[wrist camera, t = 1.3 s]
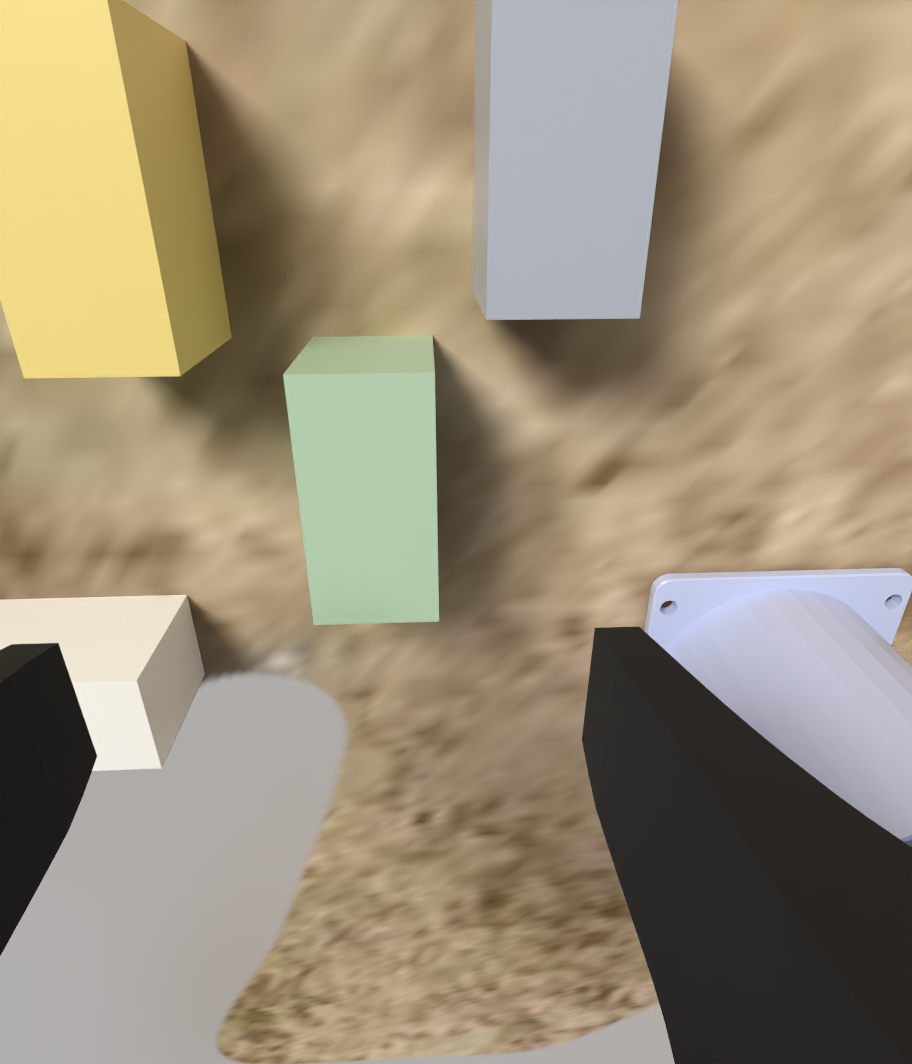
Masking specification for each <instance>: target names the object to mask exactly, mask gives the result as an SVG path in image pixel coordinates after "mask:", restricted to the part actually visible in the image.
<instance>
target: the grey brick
mask: <svg viewBox="0 0 912 1064" xmlns="http://www.w3.org/2000/svg"><path fill="white" fill-rule="evenodd" d="M677 7H678V0H475V64H474V174H473V285H472V293H473V295H474V297H475V299H476V301H477V303H478V305H479V307H480V309H481V311H482V313H483V315H484V317H485V319H486V320H535V319H637V318H640V312H641V304H642V296H643V288H644V279H645V271H646V263H647V255H648V246H649V238H650V230H651V222H652V213H653V205H654V197H655V188H656V180H657V172H658V164H659V155H660V147H661V139H662V131H663V122H664V114H665V106H666V98H667V89H668V81H669V73H670V65H671V56H672V48H673V40H674V31H675V23H676V15H677Z"/></svg>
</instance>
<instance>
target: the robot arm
mask: <svg viewBox="0 0 912 1064" xmlns="http://www.w3.org/2000/svg"><path fill="white" fill-rule="evenodd" d="M911 592H912V576H911V575H909V574H908V573H907V572H906V571H904V570H903V569H900V568H872V569H832V570H793V571H753V572H714V573H674V574H665V575H662V576H660V577H659V578H657V579H656V580H655V581H654V582H653V585H652V587H651V592H650V599H649V605H648V611H647V618H646V624H645V630H644V631H643V630H642V629H641V628H640V627H613V628H595V632H594V641H593V649H592V658H591V667H590V675H589V684H588V692H587V701H586V710H585V718H584V727H583V736H582V742H583V747H584V752H585V757H586V762H587V768H588V773H589V778H590V782H591V787H592V792H593V796H594V801H595V806H596V810H597V813H598V816H599V819H600V822H601V826H602V829H603V832H604V835H605V838H606V841H607V844H608V847H609V850H610V853H611V856H612V859H613V862H614V866H615V869H616V872H617V875H618V878H619V881H620V884H621V887H622V890H623V893H624V896H625V899H626V902H627V905H628V908H629V911H630V914H631V917H632V920H633V923H634V926H635V929H636V932H637V935H638V938H639V941H640V944H641V947H642V950H643V953H644V956H645V959H646V962H647V965H648V968H649V971H650V974H651V977H652V980H653V983H654V987H655V990H656V993H657V997H658V1000H659V1004H660V1007H661V1010H662V1014H663V1017H664V1021H665V1024H666V1028H667V1032H668V1037H669V1040H670V1045H671V1049H672V1053H673V1057H674V1062H675V1064H912V665H911V664H910V663H909V662H908V661H907V660H906V659H904V658H903V657H902V656H901V655H900V654H899V653H898V652H897V651H896V650H895V649H894V648H893V647H892V643H893V640H894V638H895V635H896V632H897V630H898V627H899V624H900V621H901V619H902V616H903V613H904V611H905V608H906V605H907V603H908V600H909V597H910V595H911ZM891 595H893V596H892V598H891V599H889V600H888V601H886V600H887V598H889V597H890V596H891ZM666 601H673V602H672V604H671V605H670V606H668V607H665V608H661V605H662V604H663V603H664V602H666ZM96 758H97V754H96V751H95V748H94V745H93V743H92V740H91V737H90V734H89V731H88V728H87V725H86V722H85V719H84V716H83V713H82V710H81V707H80V705H79V702H78V699H77V696H76V693H75V690H74V687H73V684H72V681H71V678H70V675H69V672H68V670H67V667H66V664H65V661H64V658H63V655H62V652H61V649H60V646H59V643H38V644H11V645H9V646H7V647H5V648H3V649H1V650H0V955H1V954H2V952H3V950H4V948H5V946H6V944H7V943H8V941H9V939H10V937H11V935H12V934H13V932H14V930H15V928H16V926H17V925H18V923H19V921H20V919H21V917H22V916H23V914H24V912H25V910H26V908H27V906H28V905H29V903H30V901H31V899H32V897H33V896H34V894H35V892H36V890H37V888H38V886H39V885H40V883H41V881H42V879H43V877H44V875H45V873H46V871H47V870H48V868H49V866H50V864H51V862H52V860H53V859H54V857H55V855H56V853H57V851H58V849H59V847H60V845H61V843H62V841H63V840H64V838H65V836H66V834H67V832H68V830H69V828H70V825H71V823H72V821H73V818H74V816H75V813H76V811H77V809H78V806H79V804H80V801H81V799H82V796H83V794H84V791H85V788H86V786H87V783H88V780H89V777H90V775H91V772H92V769H93V767H94V764H95V761H96Z"/></svg>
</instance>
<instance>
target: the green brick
mask: <svg viewBox="0 0 912 1064" xmlns="http://www.w3.org/2000/svg"><path fill="white" fill-rule="evenodd" d="M283 378H284V386H285V394H286V403H287V411H288V419H289V427H290V435H291V443H292V451H293V460H294V468H295V476H296V484H297V492H298V500H299V508H300V517H301V525H302V533H303V541H304V549H305V557H306V566H307V574H308V582H309V590H310V598H311V606H312V614H313V623H314V625H331V624H368V623H404V622H439V586H438V527H437V468H436V409H435V367H434V351H433V335H428V336H337V337H312V338H311V339H310V341H309V342H308V343H307V345H306V346H305V347H304V348H303V350H302V351H301V352H300V354H299V355H298V356H297V357H296V359H295V360H294V361H293V363H292V364H291V365H290V366H289V368H288V369H287V370H286V371H285V373H284V374H283Z"/></svg>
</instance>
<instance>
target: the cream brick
mask: <svg viewBox="0 0 912 1064" xmlns="http://www.w3.org/2000/svg"><path fill="white" fill-rule="evenodd" d="M38 643H59V646H60V649H61V652H62V655H63V658H64V661H65V664H66V667H67V670H68V672H69V675H70V678H71V681H72V684H73V687H74V690H75V693H76V696H77V699H78V702H79V705H80V707H81V710H82V713H83V716H84V719H85V722H86V725H87V728H88V731H89V734H90V737H91V740H92V743H93V745H94V748H95V751H96V754H97V758H96V761H95V764H94V767H93V769H92V771H101V770H102V771H103V770H131V769H158V768H159V769H160V768H162V767H163V765H164V763H165V760H166V758H167V756H168V754H169V752H170V749H171V747H172V745H173V743H174V741H175V738H176V736H177V734H178V732H179V730H180V727H181V725H182V723H183V721H184V719H185V716H186V714H187V712H188V710H189V708H190V705H191V703H192V701H193V699H194V697H195V694H196V692H197V690H198V688H199V686H200V683H201V681H202V679H203V677H204V675H205V673H204V668H203V664H202V659H201V655H200V650H199V646H198V642H197V637H196V633H195V628H194V624H193V619H192V615H191V610H190V606H189V601H188V597H187V595H164V596H126V597H87V598H48V599H10V600H0V650H1V649H3V648H5V647H7V646H9V645H11V644H38Z"/></svg>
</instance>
